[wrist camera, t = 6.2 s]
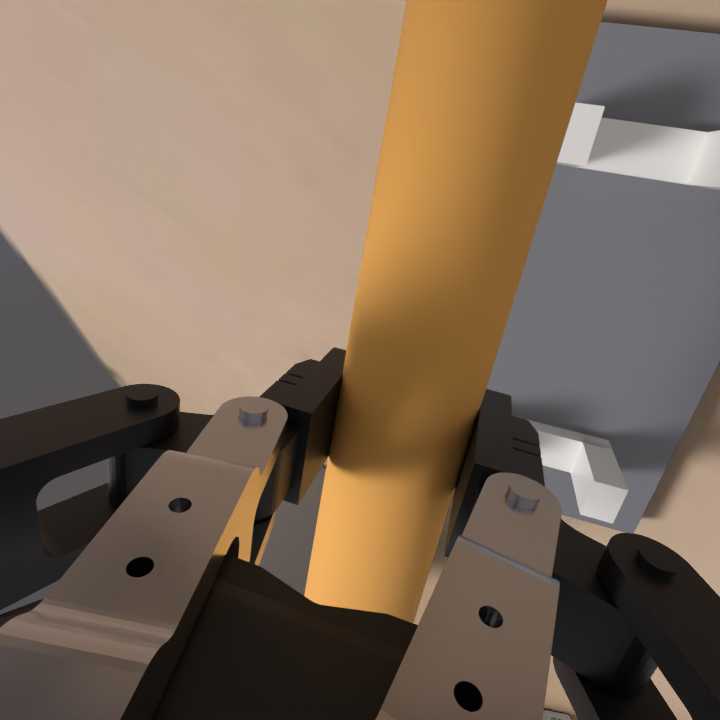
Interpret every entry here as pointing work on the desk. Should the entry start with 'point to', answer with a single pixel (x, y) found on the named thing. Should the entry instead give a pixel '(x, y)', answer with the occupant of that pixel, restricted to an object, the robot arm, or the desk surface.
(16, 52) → the desk surface
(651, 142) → the board
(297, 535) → the cup
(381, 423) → the orange rod
